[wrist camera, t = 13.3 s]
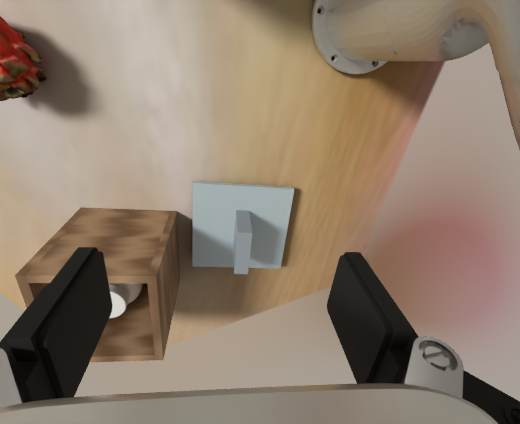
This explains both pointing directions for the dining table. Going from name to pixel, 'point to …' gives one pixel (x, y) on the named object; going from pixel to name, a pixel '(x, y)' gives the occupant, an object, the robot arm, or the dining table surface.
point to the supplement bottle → (123, 296)
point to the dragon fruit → (17, 65)
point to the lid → (239, 225)
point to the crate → (120, 274)
